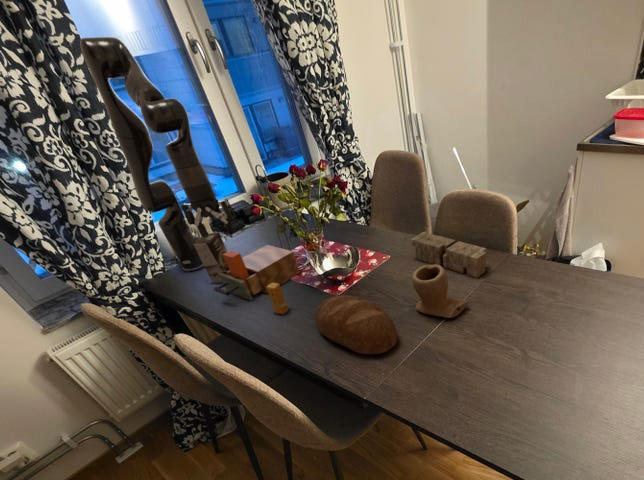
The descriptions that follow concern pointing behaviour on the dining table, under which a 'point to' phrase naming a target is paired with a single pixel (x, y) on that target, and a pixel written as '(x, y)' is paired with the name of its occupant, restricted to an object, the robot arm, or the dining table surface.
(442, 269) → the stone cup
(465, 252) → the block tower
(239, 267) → the snack carton
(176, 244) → the robot arm
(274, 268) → the cabinet
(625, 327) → the dining table surface
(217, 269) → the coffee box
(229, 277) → the drawer
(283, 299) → the supplement box
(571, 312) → the dining table surface
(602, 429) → the dining table surface
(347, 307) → the bread
